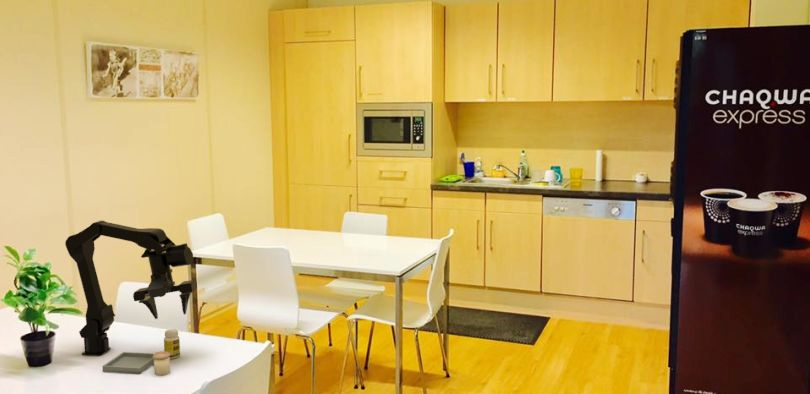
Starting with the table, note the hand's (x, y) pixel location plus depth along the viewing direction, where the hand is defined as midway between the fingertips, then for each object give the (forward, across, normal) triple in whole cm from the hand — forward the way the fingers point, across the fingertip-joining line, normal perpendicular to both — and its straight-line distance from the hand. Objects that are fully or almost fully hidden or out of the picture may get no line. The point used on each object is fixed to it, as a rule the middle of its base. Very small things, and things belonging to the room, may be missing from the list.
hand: (170, 316), depth 224 cm
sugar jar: (+14, -1, -13) cm, 19 cm away
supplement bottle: (+13, -2, 0) cm, 14 cm away
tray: (+12, -12, -8) cm, 18 cm away
